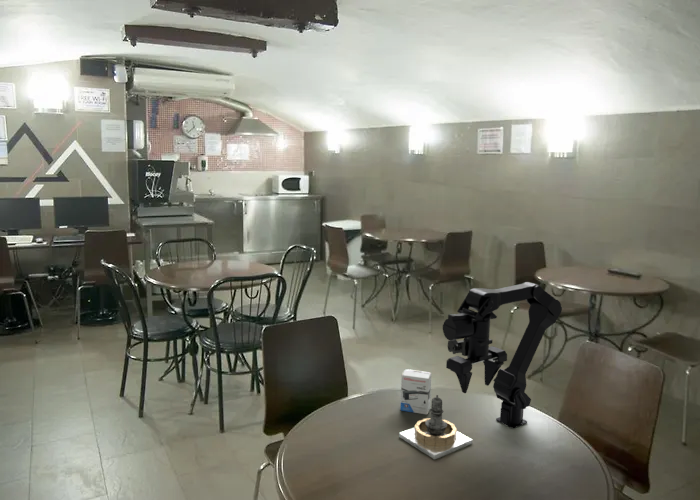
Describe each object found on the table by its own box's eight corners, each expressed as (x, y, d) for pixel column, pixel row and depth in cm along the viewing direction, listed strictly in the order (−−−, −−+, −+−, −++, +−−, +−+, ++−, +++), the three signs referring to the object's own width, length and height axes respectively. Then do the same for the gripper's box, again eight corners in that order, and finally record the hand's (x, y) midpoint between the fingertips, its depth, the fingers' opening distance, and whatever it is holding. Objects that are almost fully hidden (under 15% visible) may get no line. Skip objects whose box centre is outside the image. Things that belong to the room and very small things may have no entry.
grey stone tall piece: (438, 443, 146) (440, 401, 144) (420, 436, 150) (421, 394, 148) (450, 435, 151) (452, 394, 149) (432, 428, 155) (434, 388, 153)
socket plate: (435, 423, 160) (436, 411, 160) (472, 443, 149) (472, 431, 148) (398, 436, 152) (399, 424, 152) (434, 459, 141) (434, 446, 140)
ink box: (399, 411, 168) (400, 374, 166) (403, 404, 172) (404, 368, 170) (427, 415, 165) (428, 378, 163) (430, 408, 170) (431, 371, 168)
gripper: (479, 322, 162) (476, 372, 165) (433, 333, 151) (430, 386, 154) (509, 332, 153) (506, 385, 156) (463, 344, 142) (460, 401, 145)
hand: (475, 388), depth 153 cm, fingers open, 9 cm apart
